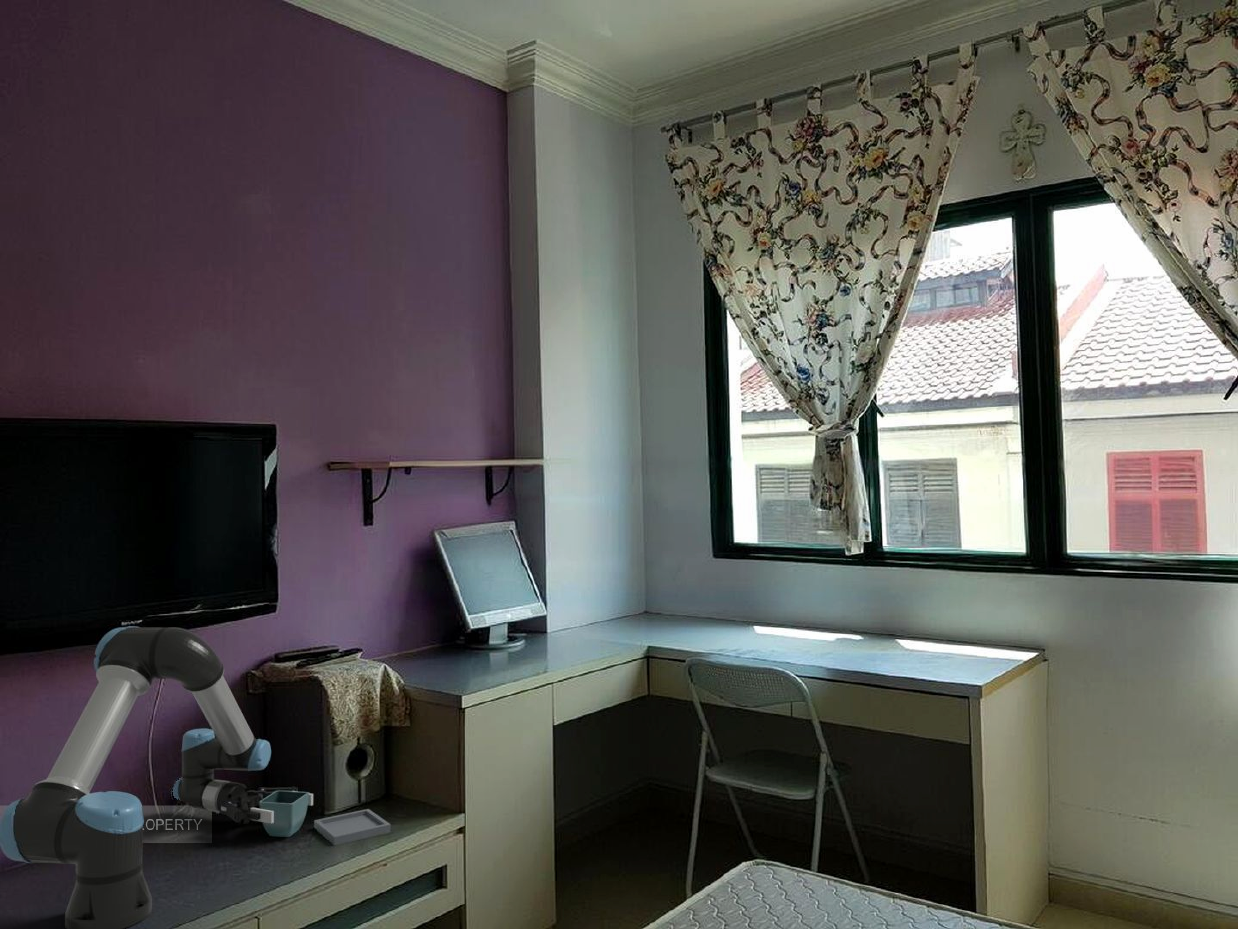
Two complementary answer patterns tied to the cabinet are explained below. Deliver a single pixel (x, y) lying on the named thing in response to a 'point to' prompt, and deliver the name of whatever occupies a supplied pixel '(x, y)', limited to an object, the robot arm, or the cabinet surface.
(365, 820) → the plant tray
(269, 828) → the flower pot
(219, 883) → the cabinet surface
